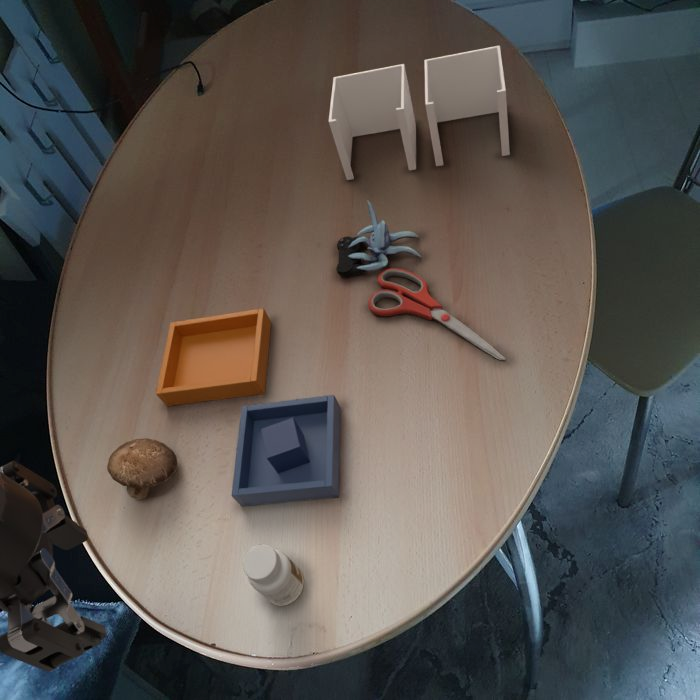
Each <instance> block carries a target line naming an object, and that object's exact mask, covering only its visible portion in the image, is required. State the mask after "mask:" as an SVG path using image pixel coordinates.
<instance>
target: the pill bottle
mask: <svg viewBox="0 0 700 700" xmlns="http://www.w3.org/2000/svg"><path fill="white" fill-rule="evenodd" d="M242 569H243V572H244V574H245V576H247V579H248V582H249V584H250V585H251V587H252V588H253V589H254V590H256V591H257V592H258V593H259V594H260V595H261V596H263V597H264V598H265V599H266V600H267V601H268V602H270V603H271V604H273V605H275V606H287V605H289V604H292V603H293V602H295V601H296V600H297V599H298V598H299V597H300V595H301V594H302V591H303V588H304V584H305V583H304V581H305V580H304V575H303V572H302V571H301V569H300V568H299V567H298V566H297V565H296V564H295V563H294V562H293V561H292V559H291V558H290V557H288V555H287V554H286V553H285V552H284V551H282V550H281V549H278V548H276V547H271V545H269V544H264V543H262V544H260V543H259V544H256V545H253V546H252V547H251V548H249V550H247V552H246V553H245V555H244V557H243V560H242Z"/></svg>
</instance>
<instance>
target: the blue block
mask: <svg viewBox="0 0 700 700" xmlns="http://www.w3.org/2000/svg"><path fill="white" fill-rule="evenodd" d="M261 433H262V438H263V443H264V448H265V453H266V458H267V460H268V461H269V462H270V464H271V465H272V466H273V468H274V469H275V470H276V471H277V473H281V472H284V471H287V470H289V469H292V468H295V467H298V466H301V465H303V464H306V463H309V462H310V459H309V455H308V451H307V447H306V443H305V439H304V435H303V433H302V431H301V429H300V428H299V426H298V425H297V423H296V421H295V420H294V418H290V419H288V420H285V421H282V422H279V423H276V424H274V425H271V426H268V427H265V428H262V429H261Z"/></svg>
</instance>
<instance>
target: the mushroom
mask: <svg viewBox="0 0 700 700" xmlns="http://www.w3.org/2000/svg"><path fill="white" fill-rule="evenodd" d="M178 467H179V463H178V459H177V455H176V453H175V451H173V450H172V449H171V448H170V447H169V446H168V445H166V444H165V443H163V442H161V441H159V440H156V439H153V438H152V439H151V438H136V439H133V440H130V441H126V442H125V443H123V444H121V445H119V446H118V447H117V448H116V449H115V450H113V452H112V453H111V454H110V456H109V457H108V461H107V466H106V469H107V472H108V474H109V475H110V477H111V478H112V480H113V481H115V482H116V483H118V484H120V485H121V486H122V487H126V490H127V494H129V496H130V497H131V498H134V499H137V500H142V499H145V498H147V496H148V495H149V493H150V489H151V488H152V487H155V486H157V485H162V484H164V483H165V482H166V481H168V480H170V478H172V477H173V476H174V474H175V472H177V470H178Z"/></svg>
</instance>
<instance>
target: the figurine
mask: <svg viewBox="0 0 700 700" xmlns="http://www.w3.org/2000/svg"><path fill="white" fill-rule="evenodd" d="M366 203H367V207H368V208H367V209H368V213H369V216H370V221H371V224H370V225H368V226H365V227H364V228H362V229H361V230H360V231H358V233H356V236H354V237H352V236H343V237H341V238H340V239H339V240H338V241H337V242H336V243H337V244H336V248H337V250H338V263H337V265H336V268H335V269H336V272H337V274H338V275H339V276H340V278H343V279H346V278H351V277H352V276H353V275H361V274H364V273H365V272H367V271H369V272H371V271H378V270H383V269H386V268H387V267H388V265H389V260H388V256H395V255H397V254H400V253H407V254H410V255H412V256H414V257H418V258H420V259H421V258H422V256H421V254H419V253H418V252H417V251H416V249H414V248H412V247H410V246H408V245H407V246H405V245H395V246H394V245H391V243H394V242H396V241H398V240H401V239H405V238H406V239H414V238H415V239H416V238H420V236H419V235H418V234H416V233H415V232H414V231H410V230H403V231H397V232H390V231H389V227H388V225H387V224H386V221H385V220H381V221H379V222H378V218H377V215H376V212H375V209H374V207H373V204H372V203H371V201H369V199H367V200H366ZM369 233H370V236H369V237H367V236H365V235H366V234H369ZM362 235H364V236H362ZM364 243H365V244H366V246H367V250H368V251H369V253H370V254H372V255H370V254H368V253H366V252H363V250H362V247H361V245H363V244H364ZM363 261H365V262H367V263H368V264H365V265H363Z"/></svg>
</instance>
